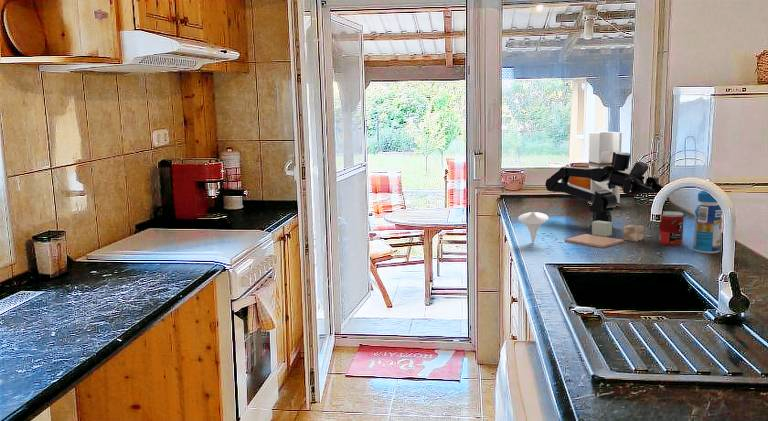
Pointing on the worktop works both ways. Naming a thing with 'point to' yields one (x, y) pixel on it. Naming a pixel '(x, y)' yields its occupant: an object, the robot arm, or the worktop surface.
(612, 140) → the tall white pillar
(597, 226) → the sage block
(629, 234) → the beech block
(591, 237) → the terracotta tile
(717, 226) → the beverage bottle
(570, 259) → the worktop surface
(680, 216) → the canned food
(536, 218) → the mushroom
